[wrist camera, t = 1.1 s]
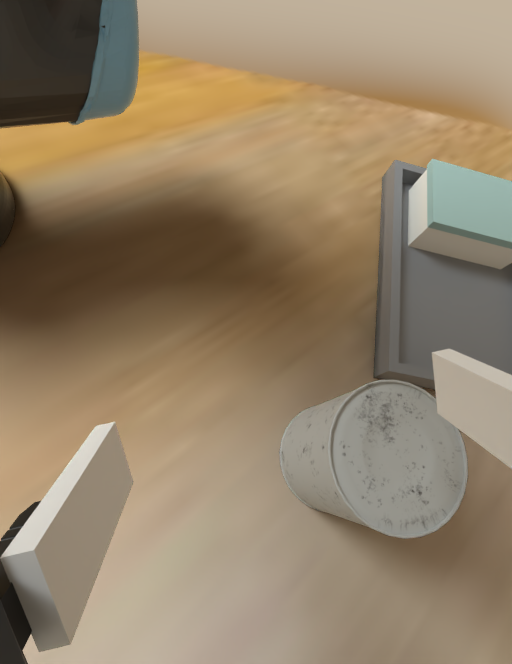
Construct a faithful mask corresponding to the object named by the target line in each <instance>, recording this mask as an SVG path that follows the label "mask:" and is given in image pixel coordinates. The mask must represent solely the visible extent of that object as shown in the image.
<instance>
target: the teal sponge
mask: <svg viewBox="0 0 512 664" xmlns="http://www.w3.org/2000/svg"><path fill="white" fill-rule="evenodd" d="M408 246H410V247H414V248H418V249H422V250H426V251H430V252H433V253H437V254H441V255H445V256H449V257H453V258H457V259H461V260H465V261H469V262H473V263H477V264H481V265H485V266H489V267H493V268H497V269H502V268H504V267H506V266H507V265H509V264H511V263H512V181H509V180H505V179H502V178H498V177H495V176H491V175H488V174H484V173H481V172H477V171H474V170H470V169H467V168H463V167H460V166H456V165H453V164H449V163H446V162H442V161H438V160H435V159H432V160H431V161H430V162H429V163H428V165H427V170H426V171H425V172H424V173H423V174H422V176H421V177H420V178H419V179H418V180H417V181H416V183H415V184H414V185H413V186H412V187H411V189H410V190H409V206H408Z"/></svg>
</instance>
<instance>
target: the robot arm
mask: <svg viewBox="0 0 512 664" xmlns="http://www.w3.org/2000/svg"><path fill="white" fill-rule="evenodd" d="M138 67H139V31H138V11H137V0H0V128H9V127H20V126H30V125H40V124H51V123H61V122H69V123H70V124H72V125H78V124H80V123H82V122H84V121H85V120H90V119H97V118H104V117H111V116H116V115H119V114H121V113H122V112H124V110H125V109H126V108H127V107H128V106H129V105H130V104H131V102H132V100H133V98H134V95H135V92H136V87H137V80H138ZM14 215H15V202H14V197H13V194H12V191H11V188H10V186H9V184H8V183H7V181H6V179H5V178H4V176H3V175H2V173H1V171H0V246H1V245H2V244H3V242H4V241H5V239H6V238H7V236H8V234H9V232H10V230H11V227H12V224H13V221H14ZM432 361H433V371H434V382H435V392H436V402H437V413H438V414H439V415H441V416H442V417H443V418H445V419H446V420H447V421H449V422H450V423H451V424H453V425H454V426H455V427H456V428H458V429H459V430H460V431H462V432H463V433H464V434H466V435H467V436H468V437H470V438H471V439H472V440H474V441H475V442H476V443H478V444H479V445H480V446H482V447H483V448H484V449H486V450H487V451H488V452H490V453H491V454H492V455H494V456H495V457H496V458H498V459H499V460H500V461H502V462H503V463H504V464H506V465H507V466H508V467H510V468H511V469H512V375H510V374H508V373H506V372H503V371H501V370H499V369H496V368H494V367H492V366H489V365H487V364H485V363H482V362H480V361H478V360H475V359H473V358H471V357H468V356H466V355H464V354H461V353H459V352H456V351H454V350H452V349H445V350H440V351H436V352H432ZM132 485H133V479H132V476H131V472H130V469H129V466H128V462H127V459H126V456H125V453H124V449H123V446H122V443H121V439H120V436H119V433H118V430H117V426H116V423H115V422H111V423H107V424H102V425H98V426H95V428H94V429H93V431H92V432H91V433H90V435H89V436H88V437H87V439H86V440H85V442H84V443H83V444H82V446H81V447H80V448H79V450H78V451H77V453H76V454H75V455H74V457H73V458H72V459H71V461H70V462H69V464H68V465H67V466H66V468H65V469H64V470H63V472H62V473H61V475H60V476H59V477H58V479H57V480H56V481H55V483H54V484H53V486H52V487H51V488H50V490H49V491H48V492H47V494H46V495H45V497H44V498H43V499H42V501H39V502H35V503H33V504H32V505H31V506H30V507H29V508H27V509H26V510H25V511H24V512H23V513H21V514H20V515H19V516H18V518H17V519H16V520H15V522H14V523H13V524H12V525H11V527H10V530H8V531H7V532H6V533H5V535H4V536H3V537H2V538H1V541H0V664H28V663H27V661H26V658H25V656H24V654H23V651H22V650H23V648H24V646H25V644H26V642H27V640H28V638H29V636H30V634H32V636H33V639H34V641H35V644H36V646H37V648H38V651H39V652H41V651H45V650H49V649H54V648H58V647H62V646H66V645H70V644H71V642H72V640H73V637H74V634H75V632H76V629H77V627H78V624H79V621H80V619H81V616H82V614H83V611H84V609H85V606H86V603H87V601H88V598H89V596H90V593H91V590H92V588H93V585H94V583H95V580H96V578H97V575H98V572H99V570H100V567H101V565H102V562H103V559H104V557H105V554H106V552H107V549H108V547H109V544H110V541H111V539H112V536H113V534H114V531H115V528H116V526H117V523H118V521H119V518H120V516H121V513H122V510H123V508H124V505H125V503H126V500H127V497H128V495H129V492H130V490H131V487H132Z"/></svg>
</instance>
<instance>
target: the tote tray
mask: <svg viewBox="0 0 512 664" xmlns="http://www.w3.org/2000/svg"><path fill="white" fill-rule="evenodd" d="M426 170H427V169H426V168H423V167H419V166H416V165H412V164H408V163H405V162H401V161H398V160H394V162H393V163H392V165H391V166H390V167H389V169H388V170H387V172H386V173H385V174H384V176H383V177H382V199H381V222H380V244H379V267H378V290H377V313H376V335H375V358H374V377H375V378H380V379H385V380H399V381H403V382H408V383H411V384H413V385H415V386H419V387H424V388H429V389H434V390H435V382H434V371H433V361H432V352H436V351H440V350H445V349H452V350H454V351H456V352H459V353H461V354H464V355H466V356H468V357H471V358H473V359H475V360H478V361H480V362H482V363H485V364H487V365H489V366H492V367H494V368H496V369H499V370H501V371H503V372H506V373H508V374H510V375H512V263H511V264H509V265H507V266H506V267H504V268H502V269H497V268H493V267H489V266H485V265H481V264H477V263H473V262H469V261H465V260H461V259H457V258H453V257H449V256H445V255H441V254H437V253H433V252H430V251H426V250H422V249H418V248H414V247H410V246H408V206H409V190H410V189H411V187H412V186H413V185H414V184H415V183H416V181H417V180H418V179H419V178H420V177H421V176H422V174H423V173H424V172H425V171H426Z"/></svg>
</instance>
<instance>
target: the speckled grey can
mask: <svg viewBox="0 0 512 664" xmlns="http://www.w3.org/2000/svg"><path fill="white" fill-rule="evenodd" d="M279 453H280V466H281V469H282V473H283V477H284V479H285V481H286V483H287V485H288V487H289V489H290V490H291V491H292V492H293V493H294V495H295V496H296V497H297V498H298V499H299V500H300V501H302V502H303V503H304V504H306V505H307V506H309V507H311V508H313V509H315V510H318V511H322V512H327V513H330V514H332V515H335V516H338V517H341V518H344V519H347V520H350V521H352V522H355V523H358V524H361V525H364V526H367V527H369V528H372V529H374V530H376V531H378V532H380V533H383V534H385V535H387V536H392V537H397V538H403V539H407V538H418V537H423V536H425V535H428V534H430V533H433V532H435V531H437V530H438V529H439V528H441V527H442V526H443V525H445V524H446V523H447V522H448V521H449V520H450V519H451V518H452V516H453V515H454V514H455V512H456V511H457V510H458V508H459V506H460V504H461V501H462V499H463V496H464V494H465V490H466V484H467V479H468V459H467V454H466V449H465V444H464V441H463V438H462V436H461V433H460V431H459V429H458V428H456V427H455V426H454V425H453V424H451V423H450V422H449V421H447V420H446V419H445V418H443V417H442V416H441V415H439V414H438V413H437V402H436V398H435V397H433V396H432V395H431V394H429V393H428V392H427V391H425V390H424V389H422V388H420V387H417V386H415V385H413V384H411V383H408V382H403V381H399V380H378V381H374V382H370V383H366V384H365V385H363V386H361V387H359V388H357V389H356V390H353V391H351V392H348V393H346V394H344V395H341V396H339V397H336V398H334V399H331V400H329V401H326V402H324V403H322V404H319V405H316V406H313V407H309V408H307V409H305V410H304V411H302V412H300V413H299V414H298V415H297V416H296V417H295V418H293V419H292V420H291V422H290V423H289V425H288V426H287V428H286V429H285V432H284V435H283V437H282V440H281V446H280V452H279Z"/></svg>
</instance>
